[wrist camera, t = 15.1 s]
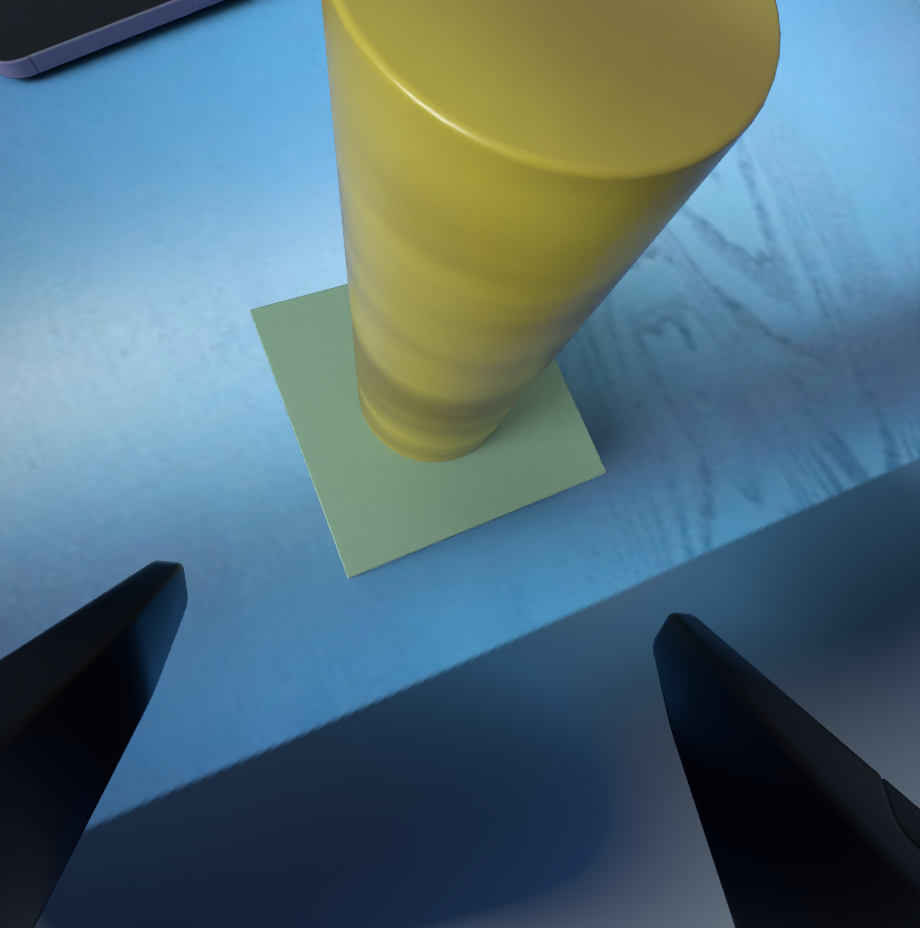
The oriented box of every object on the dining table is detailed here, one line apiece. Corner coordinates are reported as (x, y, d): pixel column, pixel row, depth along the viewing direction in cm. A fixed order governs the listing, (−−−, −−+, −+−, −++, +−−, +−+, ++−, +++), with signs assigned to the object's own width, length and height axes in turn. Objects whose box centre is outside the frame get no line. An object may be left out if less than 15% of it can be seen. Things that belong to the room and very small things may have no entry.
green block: (558, 493, 23) (607, 472, 18) (354, 577, 21) (347, 579, 16) (477, 307, 24) (502, 242, 20) (276, 366, 22) (249, 309, 17)
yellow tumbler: (469, 486, 17) (720, 261, 5) (332, 424, 17) (212, 2, 4) (522, 363, 19) (823, -66, 6) (395, 303, 18) (441, -281, 6)
